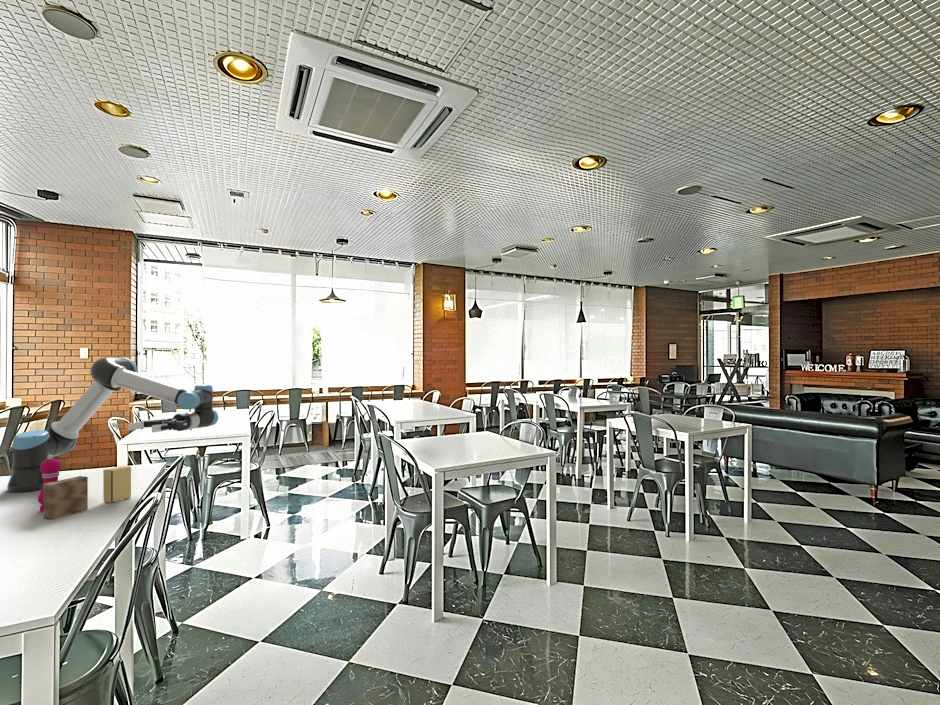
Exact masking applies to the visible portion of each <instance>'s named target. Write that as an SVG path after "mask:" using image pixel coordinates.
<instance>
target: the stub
mask: <svg viewBox="0 0 940 705" xmlns="http://www.w3.org/2000/svg"><path fill="white" fill-rule="evenodd" d="M102 472H103V473H102V474H103V475H102V476H103V480H102V481H103V482H102V483H103V488H102V490H103V491H102V492H103V496H102V497H103V498H102V499H103V503H109V504H110V503H113V502H119V501H122V500H125V499H129V498H131V497H132V466H129V465H122V466H117V467H112V468H108V469H107V468H106V469H103V470H102Z"/></svg>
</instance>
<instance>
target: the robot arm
mask: <svg viewBox="0 0 940 705" xmlns="http://www.w3.org/2000/svg"><path fill="white" fill-rule="evenodd" d="M89 372H90V376H91V378H92V379H93V380H94V381H93V382H92V383H91V384H90V386H89V387H88V388H87V389H85V392H84V393H83V394H82V395H81V396H80V397H79V398H78V399H77V400H76V401H75V403H74V404H73V405H72V406H71V407H70V409H69V410H68V411H66V412H65V414H64V415H63V416H62V417H61V419H60V420H58V421H54V422H52V423H51V424H50V425H49V426H48V427H47V428H46V429H36V430H29V431H23V432H21V433H18V434H16V435H14V436H13V439H12V445H11V447H12V473H11V474H10V477H9V481H8V483H7V487H6V488H7V489H6V491H7V493H25V492H26V493H27V492H33V491H39V490H40V491H41V489H42V487H43V482H44V480H43V478H42V473H43V472H42V471H41V470H40V465H41V463H42V462H43V461H45V460H48V456H49V455H53V456H54V458H55V457H57V456H58V457H59V456H62V455H65V454H67V453H69V452H70V451H72V450H73V449H74V448H75V447H76V445H77V441H78V440H77V439H78V438H79V437H80V433H79V431H80V430H81V429H82V428H83V427H84V426H85V424H87V422H88V421H89V420H90V418H92V416H93V415H94V414H96V412H97V411H98V409H100V407H101V406H102V405H103V404H104V403H105V401H107V399H108V398H110V396H111V395H112V393H113V392H114V393H116V392H119V391H120V390H121V389H122V388H123V389H126V390H129V391H133V392H136V393H140V394H142V395H146V396H148V397H151V398H155V399H159V400H162V401H164V402H168V403H171V404H175V405H177V406H179V407H180V408H181V409H184V410H194V411H190V412H184V413H183V412H182V413H175V415H174V416H172V418H171V417H170V418H167V419H166V418H163V419H153V420H152V419H151V420H139V421H138V422H137V421H136V422H129V423H127V431H133V430H140V429H141V430H143V429H145V428H151V433H158V432H163V431H164V432H165V431H177V432H182V431H187V430H189V431H192V430H193V429H201V428H208V427H210V426H214V425H216V424H217V423H218V421H219V415H218V412H217V411H216V410H214V409H213V401H214V398H213V397H214V396H213V394H214V392H213V391H214V390H213V389H214V388H213V386H212V385H211V384H196V385H194V389H193V390H191V389H189V388H185V387H181V386H178V385H175V384H172V383H168V382H166V381H162V380H160V379H156V378H153V377H150V376H147V375H143V374H140V373H138V366H137V365H136V363H135V361H133V360H132V359H131V358H128V357H123V356H118V357H103V358H102V357H101V358H99V359H97V360H95V362H93V363H92V364H91V366H90V370H89Z"/></svg>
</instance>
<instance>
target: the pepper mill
mask: <svg viewBox="0 0 940 705" xmlns="http://www.w3.org/2000/svg"><path fill="white" fill-rule="evenodd" d="M61 468H62V463H61V461H60V460H59V459H56V458H55V457H54V456H53V455H49V456H48V460H45V461H43V462H42V463H41V465H40V470H41V471H42V472H43V473H42V478H43V480H44V482H43V484H46V483H50V482H55V481H59V476H60V475H61V474H60V473H61V472H60V469H61ZM37 496H38V497H37V502H38V503H39V504H40V506H39V513H40V512H41V513H44V486H43V487H42V489H41V490H40V491H39V494H38V495H37Z"/></svg>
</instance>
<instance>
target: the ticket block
mask: <svg viewBox="0 0 940 705" xmlns="http://www.w3.org/2000/svg"><path fill="white" fill-rule="evenodd" d="M88 479H89V478H88V476H84V475H83V476H82V475H79V476H74V477H70V478H65V479H61V480H58V481H55V482H50V483H46V484H43V486H44V512H43V519H44V520H48V521H49V520H50V521H53V520H57V519H60V518H63V517H67V516H71V515H74V514H78V513H81V512H85V511H86V512H87V511H88V510H89V508H88V507H89V506H88V505H89V504H88V501H89V499H88V498H89V497H88V496H89V492H88V491H89V490H88V486H89V483H88Z"/></svg>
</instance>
